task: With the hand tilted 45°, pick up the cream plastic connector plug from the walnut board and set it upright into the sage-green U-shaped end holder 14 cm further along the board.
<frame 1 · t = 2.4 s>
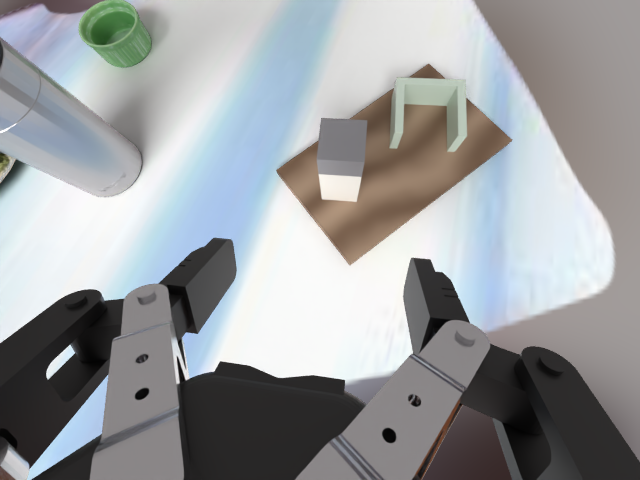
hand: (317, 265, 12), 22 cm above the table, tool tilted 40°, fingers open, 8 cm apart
ramekin: (129, 49, 46), on the table
connector: (340, 184, 36), point 1 cm above the table, touching board
end holder: (422, 125, 38), resting on board
board: (391, 160, 38), on the table
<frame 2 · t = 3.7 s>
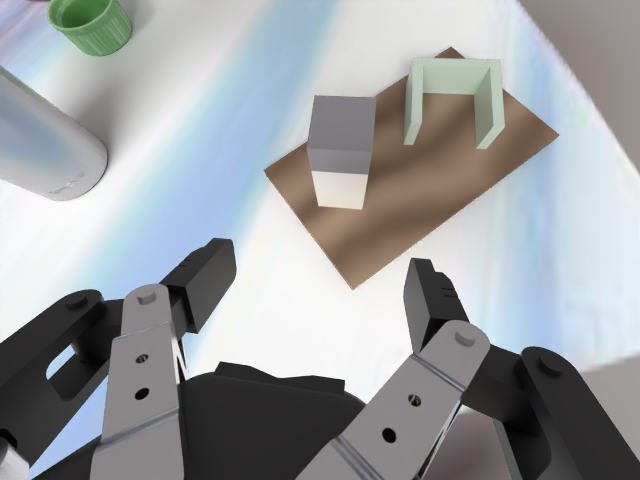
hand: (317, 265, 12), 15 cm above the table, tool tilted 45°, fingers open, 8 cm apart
ramekin: (107, 37, 41), on the table
connector: (342, 188, 29), point 1 cm above the table, touching board
end holder: (444, 117, 31), resting on board
board: (405, 159, 31), on the table
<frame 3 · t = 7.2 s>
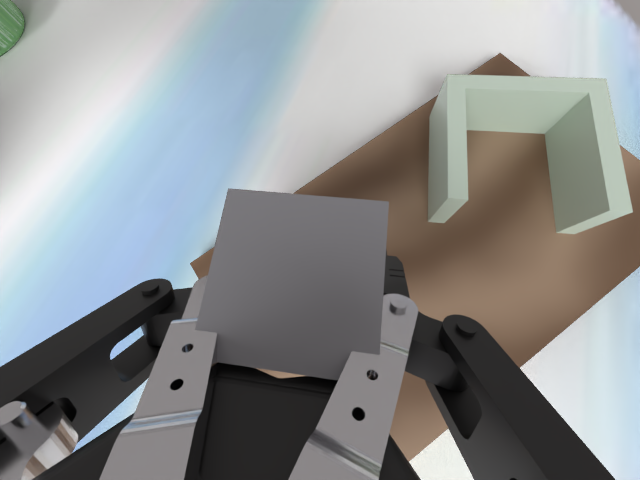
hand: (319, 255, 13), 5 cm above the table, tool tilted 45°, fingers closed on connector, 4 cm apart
connector: (321, 302, 17), point 1 cm above the table, touching board, gripper
end holder: (495, 173, 18), resting on board
board: (429, 243, 18), on the table
when the fingers open (7 cm above the table, at t = 12.6 s): connector drops 2 cm, resting on board.
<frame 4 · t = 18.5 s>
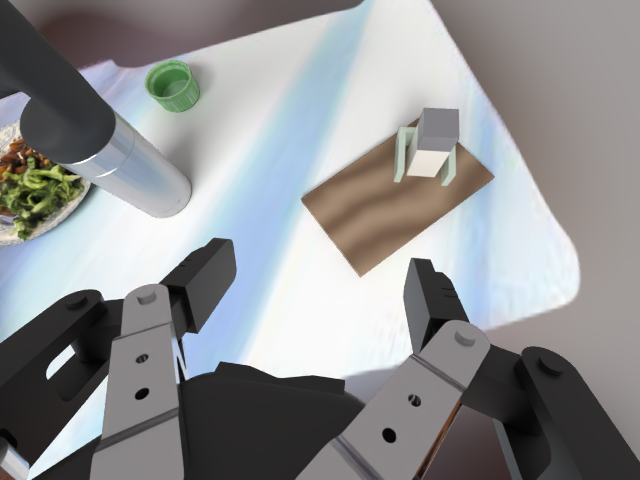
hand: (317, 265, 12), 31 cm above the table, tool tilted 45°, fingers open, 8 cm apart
ramekin: (181, 97, 56), on the table
connector: (420, 164, 46), point 1 cm above the table, touching board
end holder: (420, 163, 46), resting on board
board: (394, 191, 46), on the table
plate of food: (38, 179, 53), on the table
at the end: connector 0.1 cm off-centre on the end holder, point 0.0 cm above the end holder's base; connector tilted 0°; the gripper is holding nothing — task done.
